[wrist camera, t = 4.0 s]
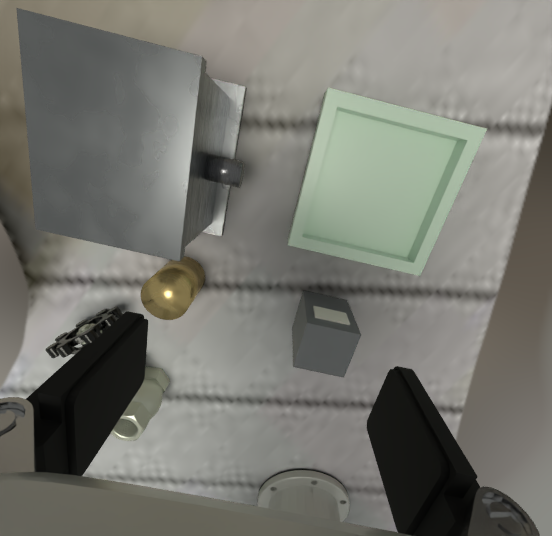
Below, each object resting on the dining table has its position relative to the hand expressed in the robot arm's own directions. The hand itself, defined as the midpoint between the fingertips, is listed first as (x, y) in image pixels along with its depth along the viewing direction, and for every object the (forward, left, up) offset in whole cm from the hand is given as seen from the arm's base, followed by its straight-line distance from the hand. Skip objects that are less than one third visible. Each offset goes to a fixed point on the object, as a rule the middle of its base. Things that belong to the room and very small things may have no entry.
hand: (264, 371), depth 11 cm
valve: (-16, +13, -17) cm, 27 cm away
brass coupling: (-5, +8, -17) cm, 20 cm away
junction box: (+6, +10, -17) cm, 21 cm away
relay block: (-6, -6, -17) cm, 19 cm away
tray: (+7, -7, -17) cm, 19 cm away
